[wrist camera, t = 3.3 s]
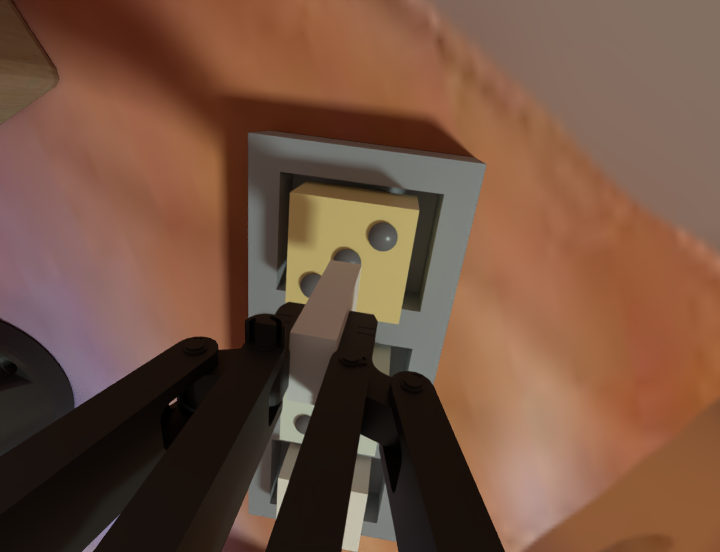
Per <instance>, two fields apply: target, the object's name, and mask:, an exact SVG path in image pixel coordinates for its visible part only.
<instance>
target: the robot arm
mask: <svg viewBox="0 0 720 552" xmlns="http://www.w3.org/2000/svg"><path fill="white" fill-rule="evenodd" d="M361 266H362V265H360V264H354V263H347V262H341V261H334V260H330V262H329V263H328V265H327V267H326V269H325V271H324V272H323V274H322V276H321V278H320V280H319V281H318V283H317V285H316V287H315V288H314V290H313V292H312V294H311V296H310V297H309V299H308V301H307V303H306V304H301V303H295V302H287V303H285V304H283V305H282V306H280V307H279V308H278V310H277V311H276V313H275V314H265V313H264V314H256V315H254V316H251V317H249V318H248V319H246V320H245V343H244V345H243V346H242V347H241V348H239V349H229V350H218V344H217V342H216V341H215V340H213V339H211V338H207V337H192V338H187V339H185V340H182V341H180V342H178V343H177V344H175V345H174V346H172V347H171V348H169V349H167V350H166V351H164V352H163V353H161V354H160V355H158V356H156V357H155V358H153V359H152V360H150V361H149V362H147V363H145V364H144V365H142V366H141V367H139V368H138V369H136V370H135V371H133V372H131V373H130V374H128V375H127V376H125V377H124V378H122V379H120V380H119V381H117V382H116V383H114V384H113V385H111V386H109V387H108V388H106V389H105V390H103V391H102V392H100V393H99V394H97V395H95V396H94V397H92V398H91V399H89V400H88V401H86V402H84V403H83V404H81V405H80V406H78V407H77V408H75V409H74V397H73V392H72V389H71V386H70V384H69V382H68V380H67V378H66V376H65V374H64V372H63V371H62V369H61V368H60V366H59V365H58V364H57V363H56V361H55V360H54V359H53V358H52V357H51V356H50V355H49V354H48V353H47V352H46V351H45V350H44V349H43V348H42V347H41V346H40V345H39V344H37V343H36V342H35V341H34V340H32V339H31V338H29V337H28V336H27V335H25V334H23V333H22V332H20V331H18V330H17V329H15V328H13V327H11V326H9V325H6V324H4V323H1V322H0V552H82V551H83V550H84V549H85V548H86V547H87V546H88V545H89V544H90V543H91V542H92V541H93V540H94V539H95V538H96V537H97V536H98V535H99V534H100V533H101V532H102V531H103V530H104V529H105V528H106V527H107V526H108V525H109V524H110V523H111V522H112V521H113V520H114V519H115V518H117V517H118V516H119V517H118V518H117V519H116V521H115V522H114V524H113V525H112V526H111V528H110V529H109V530H108V532H107V533H106V535H105V536H104V537H103V539H102V540H101V541H100V543H99V544H98V546H97V547H96V548H95V550H94V551H93V552H221V551H222V549H223V546H224V544H225V542H226V539H227V537H228V535H229V532H230V530H231V528H232V525H233V523H234V521H235V519H236V516H237V514H238V512H239V509H240V507H241V505H242V502H243V500H244V498H245V495H246V493H247V491H248V488H249V486H250V484H251V481H252V479H253V477H254V475H255V472H256V470H257V468H258V465H259V463H260V461H261V458H262V456H263V454H264V451H265V449H266V447H267V444H268V442H269V440H270V438H271V435H272V433H273V431H274V428H275V426H276V424H277V421H278V419H279V417H280V414H281V412H282V407H283V397H284V395H285V393H286V390H287V400H288V401H294V402H300V403H305V404H311V405H314V408H313V411H312V414H311V417H310V420H309V423H308V426H307V429H306V432H305V435H304V438H303V441H302V444H301V447H300V450H299V453H298V456H297V459H296V462H295V465H294V468H293V471H292V474H291V477H290V480H289V483H288V486H287V489H286V492H285V495H284V498H283V500H282V503H281V506H280V509H279V512H278V515H277V518H276V521H275V524H274V527H273V530H272V533H271V536H270V539H269V542H268V545H267V548H266V551H265V552H341V551H342V545H343V538H344V532H345V526H346V520H347V514H348V507H349V501H350V495H351V489H352V483H353V476H354V470H355V464H356V458H357V452H358V445H359V440H360V434H361V435H363V436H365V437H367V438H369V439H371V440H373V441H375V442H377V443H379V452H380V458H381V463H382V468H383V473H384V479H385V484H386V489H387V494H388V499H389V505H390V510H391V515H392V520H393V525H394V531H395V536H396V541H397V546H398V551H399V552H505V551H504V548H503V546H502V544H501V541H500V539H499V537H498V534H497V532H496V530H495V527H494V525H493V523H492V520H491V518H490V516H489V513H488V511H487V509H486V506H485V504H484V502H483V499H482V497H481V495H480V492H479V490H478V488H477V486H476V483H475V481H474V479H473V476H472V474H471V472H470V469H469V467H468V465H467V462H466V460H465V458H464V455H463V453H462V451H461V448H460V446H459V444H458V441H457V439H456V437H455V434H454V432H453V430H452V427H451V425H450V423H449V420H448V418H447V416H446V413H445V411H444V409H443V406H442V404H441V402H440V400H439V397H438V395H437V393H436V390H435V388H434V386H433V384H432V383H431V381H430V380H429V379H428V378H427V377H425V376H424V375H422V374H419V373H417V372H412V371H401V372H398V373H396V374H394V375H393V377H390V376H388V375H386V374H384V373H382V372H381V371H379V370H378V369H377V368H376V367H375V366H374V364H373V361H372V357H373V350H374V344H375V338H376V331H377V325H378V321H377V319H376V317H375V316H374V314H368V313H362V312H356V306H357V298H358V290H359V282H360V274H361ZM176 397H177V401H176V402H175V403H173V404H172V405H170V406H169V403H170V402H171V401H173V400H174V399H175V398H176Z"/></svg>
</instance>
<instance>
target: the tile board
mask: <svg viewBox="0 0 720 552" xmlns="http://www.w3.org/2000/svg"><path fill="white" fill-rule="evenodd" d="M485 169H486V164H485V163H484V162H482V161H480V160H478V159H477V158H475V157H468V156H460V155H453V154H445V153H437V152H430V151H422V150H414V149H407V148H399V147H392V146H384V145H376V144H369V143H361V142H354V141H346V140H338V139H331V138H323V137H315V136H308V135H300V134H293V133H285V132H277V131H260V132H250V133H248V318H249V317H251V316H254V315H256V314H264V313H265V314H275V313H276V311H277V310H278V308H279V307H280V306H282V305H283V304H285V298H286V274H287V251H288V227H289V203H290V192H291V191H293V190H294V189H296V188H297V187H299V186H300V185H302V184H304V183H305V182H307V181H312V182H319V183H326V184H334V185H341V186H348V187H355V188H363V189H370V190H377V191H384V192H391V193H399V194H406V195H413V196H417V198H418V205H419V215H418V221H417V226H416V232H415V237H414V243H413V249H412V254H411V260H410V265H409V271H408V276H407V282H406V287H405V293H404V298H403V304H402V309H401V315H400V320H399V324H393V323H386V322H380V321H378V325H377V331H376V338H375V343H379V344H385V345H391V354H390V370H389V376H390V377H393V375H394V374H396V373H398V372H401V371H412V372H417V373H419V374H422V375H424V376H425V377H427V378H428V379H429V380H430V381H431V383H432V384H434V380H435V376H436V372H437V367H438V363H439V359H440V355H441V351H442V347H443V343H444V338H445V334H446V330H447V326H448V322H449V318H450V314H451V309H452V305H453V301H454V297H455V293H456V289H457V285H458V280H459V276H460V272H461V268H462V264H463V260H464V256H465V251H466V247H467V243H468V239H469V235H470V231H471V227H472V222H473V218H474V214H475V210H476V206H477V202H478V198H479V193H480V189H481V185H482V181H483V177H484V173H485ZM280 417H281V414H280ZM280 417H279V419H278V421H277V424H276V426H275V428H274V431H273V433H272V435H271V438H270V440H269V442H268V444H267V447H266V449H265V451H264V454H263V456H262V458H261V461H260V463H259V465H258V468H257V470H256V472H255V475H254V477H253V479H252V481H251V484H250V486H249V514H252V515H257V516H263V517H268V518H273V519H276V512H277V488H278V476H279V474H280V471H281V468H282V465H283V462H284V459H285V457H286V454H287V451H288V448H289V445H290V443H295V444H302V443H296V442H291V441H285V440H280ZM357 455H363V456H368V457H372V458H371V468H370V478H369V488H368V497H367V502H366V508H365V513H364V519H363V524H362V530H361V535H363V536H368V537H373V538H379V539H384V540H389V541H394V542H396V536H395V531H394V525H393V520H392V515H391V510H390V505H389V499H388V494H387V489H386V484H385V479H384V473H383V468H382V463H381V458H380V452H379V443H377V447H376V452H375V456H370V455H364V454H358V453H357Z"/></svg>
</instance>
